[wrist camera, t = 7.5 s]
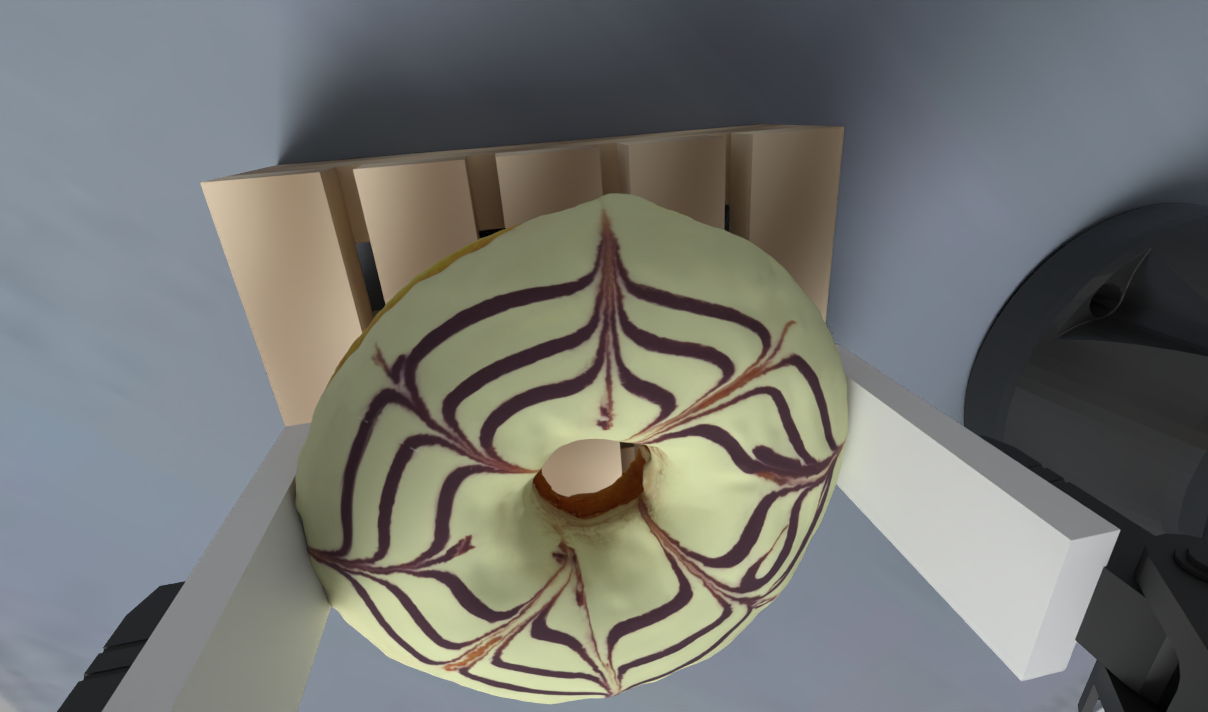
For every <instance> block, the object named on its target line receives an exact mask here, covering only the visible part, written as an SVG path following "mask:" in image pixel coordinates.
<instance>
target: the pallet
mask: <svg viewBox="0 0 1208 712" xmlns="http://www.w3.org/2000/svg"><path fill="white" fill-rule="evenodd" d="M843 138H844V126H810V125H776V124H758V125H746V126H735V127H723V128H711V129H699V130H687V131H676V132H664V133H652V134H640V135H628V136H616V137H605V138H593V139H581V140H569V141H557V142H546V143H534V144H522V145H510V146H498V147H486V148H475V149H463V150H451V151H439V152H427V153H415V154H404V155H392V156H380V157H368V158H356V159H345V160H333V161H321V162H309V163H297V164H285V165H275V166H271V167H267V168H262V169H258V170H253V171H249V172H245V173H240V174H236V175H231V176H227V177H223V178H218V179H214V180H210V181H205V182H201V183H200V184H201V187H202V190H203V192H204V195H205V198H206V201H207V204H208V207H209V210H210V212H211V215H212V218H213V221H214V224H215V227H216V229H217V232H218V235H219V238H220V241H221V244H222V247H223V249H224V252H225V255H226V258H227V261H228V264H229V267H230V269H231V272H232V275H233V278H234V281H235V284H236V287H237V289H238V292H239V295H240V298H241V301H242V304H243V307H244V309H245V312H246V315H247V318H248V321H249V324H250V327H251V329H252V332H253V335H254V338H255V341H256V344H257V347H258V349H259V352H260V355H261V358H262V361H263V364H264V367H265V369H266V372H267V375H268V378H269V381H270V384H271V387H272V389H273V392H274V395H275V398H276V401H277V404H278V406H279V409H280V412H281V415H282V418H283V421H284V424H285V426H291V425H298V424H305V423H311V421H312V417H313V413H314V410H315V407H316V405H317V403H318V401H319V399H320V397H321V395H322V394H323V392H324V391H325V388H326V386H327V385H328V383H329V381H330V378H331V376H332V375H333V374H334V372H335V369H336V367H337V366H338V365H339V363H340V361H341V360H342V358H343V357H344V355H345V354H346V353H347V351H348V350H349V348H350V347H351V345H352V344H353V342H354V341H355V340H356V339H357V338H358V337H359V336H360V335H361V334H362V333H363V331H364V330H365V329H366V328H367V327H368V326H369V325H370V323H371V322H372V320H373V319H374V317H375V316H376V315H377V314H378V312H380V311H381V310H375V311H372V309H371V305H370V301H369V297H368V293H367V289H366V285H365V281H364V277H363V273H362V269H361V265H360V261H359V257H358V253H357V249H356V245H355V244H356V243H365V242H371V246H372V250H373V255H374V259H375V263H376V267H377V271H378V275H379V280H380V284H381V288H382V292H383V296H384V300H385V304H387V302H388V301H389V300H391V299H392V298H393V297H394V296H395V295H396V294H397V293H398V292H399V291H400V290H401V289H402V288H404V287H405V286H407V285H408V284H409V283H410V282H411V280H412V279H413V278H414V277H416V276H417V275H418V274H420V273H422V272H424V271H425V270H427V269H428V268H430V267H431V266H433V265H435V264H436V263H437V262H438V261H441V260H442V259H444V258H445V257H447V256H449V255H451V254H452V253H454V252H455V251H458V250H460V249H461V248H463V247H465V246H467V245H468V244H470V243H472V242H474V241H477V240H479V239H480V235H479V231H480V230H489V229H499V228H509V227H512V226H515V225H519V224H523V223H524V222H526V221H529V220H531V219H534V218H537V217H539V216H541V215H548V214H552V213H556V212H560V211H564V210H566V209H569V208H573V207H576V206H577V205H579V204H582V203H586V202H590V201H593V200H595V199H598V198H600V197H601V196H604V195H606V194H610V193H618V194H630V195H635V196H639V197H641V198H643V199H646V200H648V201H650V202H653V203H654V204H656V205H657V206H660V207H663V208H666V209H668V210H672V211H676V212H678V213H680V214H683V215H686V216H688V217H690V218H692V219H694V220H695V221H698V222H701V223H703V224H706V225H709V226H711V227H715V228H719V229H722V230H724V222H725V205H728V204H730V205H729V232H730V233H732V234H734V235H737V236H739V237H742V238H744V239H746V240H748V241H750V242H751V243H753V244H754V245H756V246H757V247H759V248H760V249H761V250H763V251H764V252H765V253H767V254H768V255H770V256H771V257H773V258H774V259H775V260H776V261H777V262H778V263H779V264H780V265H781V266H783V267H784V268H785V269H786V271H787V272H788V273H789V274H790V276H791V277H792V278H793V279H794V280H795V282H796V283H797V284H798V285H799V286H800V288H801V289H802V290H803V291H804V292H805V294H806V295H807V296H808V297H809V298H810V299H811V300H812V301H813V303H814V304H815V305H816V306H817V307H818V308H819V310H820V311H821V315H822V318H823V320H824V322H825V323H826V313H827V303H828V293H829V282H830V272H831V262H832V251H833V241H834V231H835V220H836V210H837V200H838V189H839V179H840V169H841V158H842V148H843ZM638 448H639V444H634V443H626V442H619V441H614V440H608V439H584V440H577V441H574V442H571V443H568V444H565V445H563V446H561V447H559V448H558V449H557V450H555V451H554V452H553V454H552V455H551V456H550V457H549V459H548V460H547V461H546V463H545V464H544V466H543V467H542V468H541V469H542V475H543V476H544V477H545V478H546V481H547V482H548V483H549V485H550V486H552V490H553V491H555V492H556V493H558V494H560V495H564V496H567V497H570V496H571V495H575V494H582V493H595V492H598V491H600V490H602V489H604V488H607V487H608V486H610V485H612V484H613V483H614V482H615V481H616V480H617V479H618V478H619V477H621V476H622V473H625V472H626V471H627V469H628V468H629V467H630V463H631V462H632V461H634V459H635V458H636V456H637V451H638Z"/></svg>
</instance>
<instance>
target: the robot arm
mask: <svg viewBox="0 0 1208 712" xmlns="http://www.w3.org/2000/svg"><path fill="white" fill-rule="evenodd" d="M835 346H836V348H837V350H838V352H839V354H840V358H841V363H842V366H843V371H844V373H845V376H846V382H847V405H848V432H847V438H846V443H845V450H844V455H843V459H842V464H841V468H840V472H839V476H838V480H837V483H836V484H837V485H838V486H839V487H840V489H841V490H842V491H843V492H844V493H845V494H846V495H847V496H848V497H849V498H850V499H851V500H852V501H853V502H854V503H855V504H856V506H857V507H858V508H859V509H860V510H861V511H862V512H863V513H864V514H865V515H866V516H867V517H868V518H869V519H870V520H871V522H872V523H873V524H874V525H875V526H876V527H877V528H878V529H879V530H880V531H881V532H882V533H883V534H884V535H885V536H886V537H887V539H888V540H889V541H890V542H891V543H892V544H893V545H894V546H895V547H896V548H897V549H898V550H899V551H900V552H901V553H902V555H903V556H904V557H905V558H906V559H907V560H908V561H909V562H910V563H911V564H912V565H913V566H914V567H915V568H916V569H917V571H918V572H919V573H920V574H921V575H922V576H923V577H924V578H925V579H926V580H927V581H928V582H929V583H930V584H931V585H932V586H933V588H934V589H935V590H936V591H937V592H938V593H939V594H940V595H941V596H942V597H943V598H944V599H945V600H946V601H947V602H948V604H949V605H950V606H951V607H952V608H953V609H954V610H955V611H956V612H957V613H958V614H959V615H960V616H961V617H962V618H963V620H964V621H965V622H966V623H967V624H968V625H969V626H970V627H971V628H972V629H973V630H974V631H975V632H976V633H977V634H978V635H979V637H980V638H981V639H982V640H983V641H984V642H985V643H986V644H987V645H988V646H989V647H990V648H991V649H992V650H993V651H994V653H995V654H996V655H997V656H998V657H999V658H1000V659H1001V660H1002V661H1003V662H1004V663H1005V664H1006V665H1007V666H1008V667H1009V668H1010V670H1011V671H1012V672H1013V673H1014V674H1015V675H1016V676H1017V677H1018V678H1019V679H1020V680H1021V681H1025V680H1029V679H1033V678H1037V677H1041V676H1045V675H1049V674H1052V673H1056V672H1060V671H1064V670H1065V669H1066V667H1067V664H1068V662H1069V659H1070V657H1071V654H1072V652H1073V649H1074V647H1075V644H1076V642H1078V643H1079V644H1080V645H1082V646H1083V647H1084V648H1085V649H1086V650H1087V651H1088V652H1089V653H1090V654H1092V655H1093V656H1094V657H1095V658H1096V659H1097V661H1096V663H1095V665H1094V668H1093V670H1092V672H1091V675H1090V677H1089V679H1088V682H1087V684H1086V687H1085V689H1084V691H1083V694H1082V696H1081V698H1080V701H1079V703H1078V710H1079V712H1092V711H1093V709H1094V706H1095V704H1096V702H1097V700H1100V701H1101V703H1102V706H1103V708H1104V710H1105V712H1208V206H1200V205H1192V204H1184V203H1165V204H1156V205H1150V206H1146V207H1142V208H1138V209H1135V210H1131V211H1128V212H1125V213H1123V214H1120V215H1118V216H1115V217H1113V218H1111V219H1109V220H1107V221H1104V222H1102V223H1100V224H1099V225H1097V226H1095V227H1093V228H1091V229H1090V230H1088V231H1086V232H1085V233H1083V234H1082V235H1080V236H1078V237H1077V238H1075V239H1074V240H1073V241H1071V242H1070V243H1068V244H1067V245H1066V246H1064V247H1063V248H1062V249H1060V250H1059V251H1058V252H1057V253H1055V254H1054V255H1053V256H1052V257H1051V258H1050V259H1048V260H1047V261H1046V262H1045V263H1044V264H1043V265H1042V266H1041V267H1040V268H1039V269H1038V270H1037V271H1036V272H1035V273H1034V274H1033V275H1032V276H1031V277H1030V278H1029V279H1028V280H1027V281H1026V282H1025V283H1024V284H1023V285H1022V287H1021V288H1020V289H1019V290H1018V291H1017V293H1016V294H1015V295H1014V296H1013V297H1012V299H1011V300H1010V301H1009V303H1008V304H1007V305H1006V307H1005V308H1004V309H1003V311H1002V312H1001V314H1000V315H999V317H998V318H997V320H996V322H995V323H994V325H993V327H992V328H991V330H990V332H989V333H988V335H987V337H986V339H985V341H984V343H983V345H982V347H981V349H980V351H979V354H978V356H977V359H976V361H975V364H974V366H973V369H972V372H971V376H970V379H969V383H968V387H967V392H966V397H965V406H964V426H962V425H961V424H959V423H958V422H956V421H955V420H953V419H952V418H950V417H949V416H947V415H946V414H944V413H942V412H941V411H939V410H938V409H936V408H935V407H933V406H932V405H930V404H929V403H927V402H926V401H924V400H923V399H921V398H920V397H918V396H917V395H915V394H914V393H912V392H911V391H909V390H908V389H906V388H905V387H903V386H901V385H900V384H898V383H897V382H895V381H894V380H892V379H891V378H889V377H888V376H886V375H885V374H883V373H882V372H880V371H879V370H877V369H876V368H874V367H873V366H871V365H870V364H868V363H867V362H865V361H864V360H862V359H860V358H859V357H857V356H856V355H854V354H853V353H851V352H850V351H848V350H847V349H845V348H844V347H842V346H841V345H839V344H838V345H835ZM310 425H311V423H305V424H298V425H291V426H286V427H285V428H284V430H283V431H282V433H281V434H280V436H279V437H278V439H277V441H276V442H275V444H274V445H273V447H272V448H271V450H270V451H269V453H268V455H267V456H266V458H265V459H264V461H263V462H262V464H261V465H260V467H259V469H258V470H257V472H256V473H255V475H254V476H253V478H252V479H251V481H250V482H249V484H248V486H247V487H246V489H245V490H244V492H243V493H242V495H241V496H240V498H239V500H238V501H237V503H236V504H235V506H234V507H233V509H232V510H231V512H230V513H229V515H228V517H227V518H226V520H225V521H224V523H223V524H222V526H221V527H220V529H219V531H218V532H217V534H216V535H215V537H214V538H213V540H212V541H211V543H210V545H209V546H208V548H207V549H206V551H205V552H204V554H203V555H202V557H201V558H200V560H199V562H198V563H197V565H196V566H195V568H194V569H193V571H192V572H191V574H190V576H189V577H188V579H187V580H186V581H185V582H179V583H174V584H168V585H163V586H159V587H158V588H157V589H156V590H155V591H154V592H153V593H151V594H150V595H149V596H148V597H147V598H146V599H145V600H143V601H142V602H141V603H140V604H139V605H138V606H137V607H135V608H134V609H133V610H132V611H131V612H130V613H129V614H127V615H126V617H125V618H124V619H123V621H122V622H121V624H120V625H119V626H118V628H117V629H116V630H115V632H114V633H113V635H112V636H111V637H110V639H109V640H108V642H107V643H106V644H105V646H104V647H103V648H104V651H103V653H100V654H98V655H97V657H96V658H95V660H94V661H93V662H92V664H91V665H90V667H89V668H88V669H87V671H86V672H85V674H84V680H83V681H80V682H78V683H77V685H76V686H75V687H74V689H73V690H72V692H71V693H70V694H69V696H68V697H67V699H66V700H65V701H64V703H63V704H62V706H61V707H60V708H59V710H58V711H57V712H298V709H299V705H300V702H301V699H302V696H303V693H304V690H305V687H306V683H307V680H308V677H309V674H310V671H311V668H312V665H313V661H314V658H315V655H316V652H317V649H318V646H319V642H320V639H321V636H322V633H323V630H324V627H325V624H326V620H327V617H328V614H329V611H330V608H331V605H330V603H329V601H328V598H327V593H326V590H325V588H324V586H323V585H322V584H321V583H320V581H319V578H318V576H317V574H316V573H315V571H314V569H313V566H312V564H311V561H310V558H309V554H308V547H307V542H306V535H305V533H304V528H303V521H302V518H301V515H300V514H299V512H298V511H297V509H296V507H295V500H296V478H295V477H296V470H297V463H298V458H299V454H300V451H301V448H302V447H303V445H304V443H305V442H306V440H307V437H308V433H309V429H310Z"/></svg>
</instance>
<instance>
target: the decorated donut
mask: <svg viewBox="0 0 1208 712" xmlns="http://www.w3.org/2000/svg"><path fill="white" fill-rule="evenodd" d="M847 432H848V405H847V382H846V376H845V373H844V371H843V366H842V363H841V358H840V354H839V352H838V350H837V348H836V346H835V344H834V341H833V338H832V335H831V333H830V331H829V329H828V327H827V325H826V324H825V322H824V320H823V318H822V315H821V311H820V310H819V308H818V307H817V306H816V305H815V304H814V303H813V301H812V300H811V299H810V298H809V297H808V296H807V295H806V294H805V292H804V291H803V290H802V289H801V288H800V286H799V285H798V284H797V283H796V282H795V280H794V279H793V278H792V277H791V276H790V274H789V273H788V272H787V271H786V269H785V268H784V267H783V266H781V265H780V264H779V263H778V262H777V261H776V260H775V259H774V258H773V257H771V256H770V255H768V254H767V253H765V252H764V251H763V250H761V249H760V248H759V247H757V246H756V245H754V244H753V243H751V242H750V241H748V240H746V239H744V238H742V237H739V236H737V235H734V234H732V233H730V232H728V231H725V230H722V229H719V228H715V227H711V226H709V225H706V224H703V223H701V222H698V221H695V220H694V219H692V218H690V217H688V216H686V215H683V214H680V213H678V212H676V211H672V210H668V209H666V208H663V207H660V206H657V205H656V204H654V203H653V202H650V201H648V200H646V199H643V198H641V197H639V196H635V195H630V194H618V193H610V194H606V195H604V196H601V197H600V198H598V199H595V200H593V201H590V202H586V203H582V204H579V205H577V206H576V207H573V208H569V209H566V210H564V211H560V212H556V213H552V214H548V215H541V216H539V217H537V218H534V219H531V220H529V221H526V222H524V223H523V224H519V225H515V226H512V227H509V228H506V229H504V230H501V231H499V232H496V233H494V234H492V235H490V236H487V237H484V238H481V239H479V240H477V241H474V242H472V243H470V244H468V245H467V246H465V247H463V248H461V249H460V250H458V251H455V252H454V253H452V254H451V255H449V256H447V257H445V258H444V259H442V260H441V261H438V262H437V263H436V264H435V265H433V266H431V267H430V268H428V269H427V270H425V271H424V272H422V273H420V274H418V275H417V276H416V277H414V278H413V279H412V280H411V282H410V283H409V284H408V285H407V286H405V287H404V288H402V289H401V290H400V291H399V292H398V293H397V294H396V295H395V296H394V297H393V298H392V299H391V300H389V301H388V302H387V304H386V305H385V307H384V308H383V309H382V310H381V311H380V312H378V314H377V315H376V316H375V317H374V319H373V320H372V322H371V323H370V325H369V326H368V327H367V328H366V329H365V330H364V331H363V333H362V334H361V335H360V336H359V337H358V338H357V339H356V340H355V341H354V342H353V344H352V345H351V347H350V348H349V350H348V351H347V353H346V354H345V355H344V357H343V358H342V360H341V361H340V363H339V365H338V366H337V367H336V369H335V372H334V374H333V375H332V376H331V378H330V381H329V383H328V385H327V386H326V388H325V391H324V392H323V394H322V395H321V397H320V399H319V401H318V403H317V405H316V407H315V410H314V413H313V417H312V421H311V425H310V429H309V433H308V437H307V440H306V442H305V443H304V445H303V447H302V448H301V451H300V454H299V458H298V463H297V470H296V477H295V478H296V500H295V507H296V509H297V511H298V512H299V514H300V515H301V518H302V521H303V528H304V533H305V535H306V542H307V547H308V554H309V558H310V561H311V564H312V566H313V569H314V571H315V573H316V574H317V576H318V578H319V581H320V583H321V584H322V585H323V586H324V588H325V590H326V593H327V598H328V601H329V603H330V605H331V606H332V607H334V608H335V609H336V610H338V611H339V613H340V614H341V615H342V617H343V619H344V620H345V621H346V622H347V623H348V624H350V625H351V626H352V627H354V628H355V629H356V630H357V631H358V632H360V633H361V634H362V635H363V636H365V637H366V638H367V639H368V640H369V641H371V642H372V643H373V644H374V645H375V646H377V647H378V648H379V649H380V650H381V651H382V652H383V653H384V654H385V655H387V656H388V657H390V658H392V659H394V660H397V661H399V662H401V663H403V664H405V665H407V666H410V667H413V668H416V669H418V670H420V671H423V672H426V673H429V674H431V675H434V676H436V677H440V678H443V679H446V680H450V681H453V682H456V683H458V684H460V685H462V686H465V687H469V688H472V689H475V690H478V691H481V692H485V693H488V694H491V695H495V696H499V697H504V698H511V699H517V700H521V701H527V702H535V703H545V704H556V703H562V702H567V701H573V700H579V699H587V698H606V697H611V696H615V695H618V694H620V693H622V692H624V691H626V690H629V689H631V688H633V687H636V686H638V685H642V684H647V683H652V682H656V681H658V680H660V679H662V678H664V677H666V676H668V675H670V674H672V673H674V672H676V671H678V670H680V669H683V668H685V667H688V666H691V665H693V664H696V663H699V662H701V661H703V660H706V659H708V658H710V657H711V656H713V655H714V654H716V653H717V652H719V651H720V650H722V649H723V648H724V647H726V646H727V645H728V644H730V643H731V642H732V641H733V640H734V639H735V637H736V636H737V635H738V634H739V633H740V632H742V631H743V630H744V629H745V628H746V627H747V626H748V625H749V624H750V623H751V622H752V620H753V619H754V618H755V617H756V615H757V614H758V613H759V612H760V611H761V610H763V609H764V608H765V607H767V606H768V605H769V604H770V603H771V602H773V601H774V600H775V599H776V598H777V597H778V595H779V594H780V592H781V591H782V590H783V589H784V588H785V587H786V586H787V584H788V583H789V581H790V580H791V578H792V576H793V575H794V573H795V571H796V569H797V567H798V565H799V564H800V561H801V560H802V558H803V556H804V554H805V551H806V549H807V546H808V544H809V542H810V540H811V538H812V537H813V535H814V533H815V532H816V530H817V529H818V527H819V526H820V523H821V521H822V519H823V516H824V514H825V511H826V509H827V506H828V504H829V501H830V499H831V496H832V493H833V491H834V488H835V485H836V483H837V480H838V476H839V472H840V468H841V464H842V459H843V455H844V450H845V443H846V438H847ZM584 439H608V440H614V441H619V442H626V443H634V444H639V448H638V451H637V456H636V458H635V459H634V461H632V462H631V463H630V467H629V468H628V469H627V471H626V472H625V473H622V476H621V477H619V478H618V479H617V480H616V481H615V482H614V483H613V484H612V485H610V486H608V487H607V488H604V489H602V490H600V491H598V492H595V493H582V494H575V495H571V496H570V497H567V496H564V495H560V494H558V493H556V492H555V491H553V490H552V486H550V485H549V483H548V482H547V481H546V478H545V477H544V476H543V475H542V469H541V468H542V467H543V466H544V464H545V463H546V461H547V460H548V459H549V457H550V456H551V455H552V454H553V452H554V451H555V450H557V449H558V448H559V447H561V446H563V445H565V444H568V443H571V442H574V441H577V440H584Z"/></svg>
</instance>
